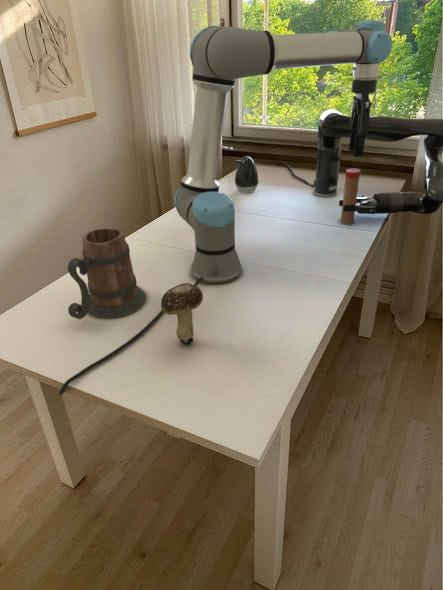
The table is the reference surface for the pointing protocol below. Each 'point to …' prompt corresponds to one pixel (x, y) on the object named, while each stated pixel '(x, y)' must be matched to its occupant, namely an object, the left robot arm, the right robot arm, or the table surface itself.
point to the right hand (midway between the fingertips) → (341, 205)
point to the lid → (353, 173)
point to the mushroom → (182, 308)
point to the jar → (349, 199)
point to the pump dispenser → (246, 175)
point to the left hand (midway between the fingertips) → (355, 153)
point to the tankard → (105, 276)
